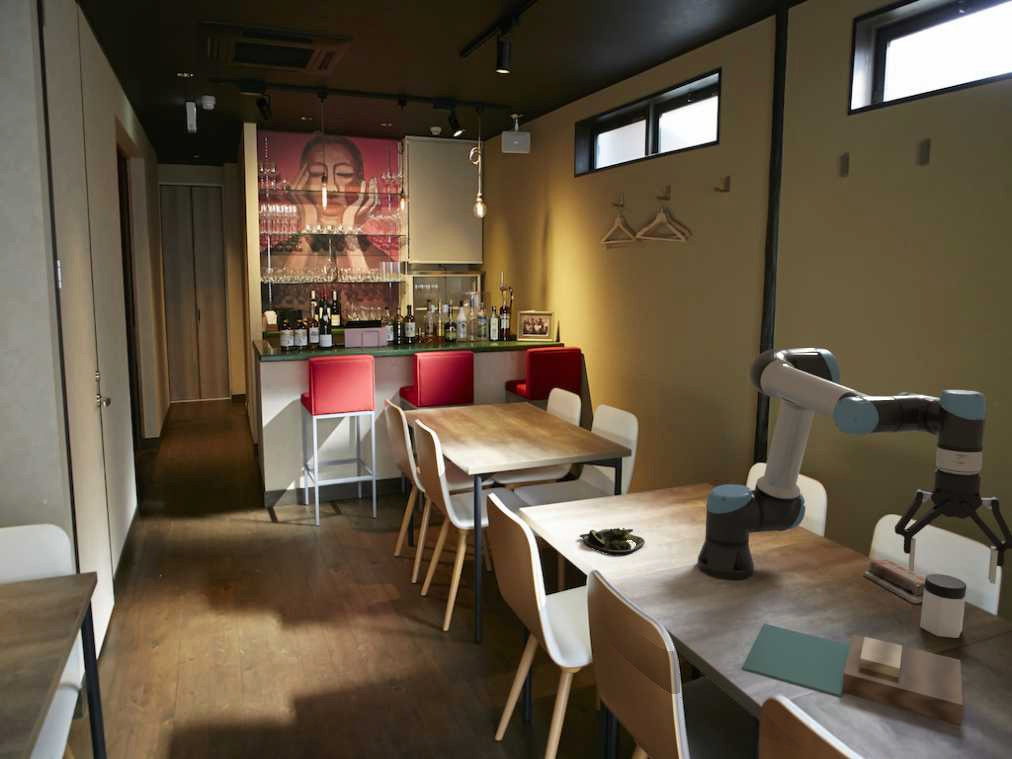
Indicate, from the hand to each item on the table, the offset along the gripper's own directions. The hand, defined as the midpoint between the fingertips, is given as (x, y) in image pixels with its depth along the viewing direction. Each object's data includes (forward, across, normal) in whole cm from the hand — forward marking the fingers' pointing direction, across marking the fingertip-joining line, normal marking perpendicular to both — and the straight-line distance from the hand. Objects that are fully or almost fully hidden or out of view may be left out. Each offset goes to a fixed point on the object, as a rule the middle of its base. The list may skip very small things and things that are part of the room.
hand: (950, 575), depth 140 cm
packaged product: (+23, -5, +50) cm, 55 cm away
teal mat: (+23, -27, -1) cm, 35 cm away
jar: (+23, +2, +28) cm, 36 cm away
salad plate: (+21, -84, +43) cm, 96 cm away
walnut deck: (+24, -7, -3) cm, 25 cm away
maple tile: (+19, -11, -2) cm, 23 cm away
